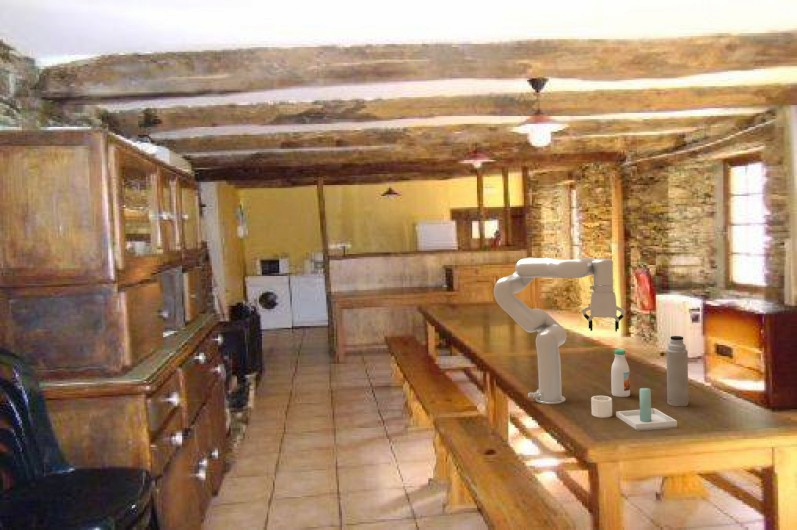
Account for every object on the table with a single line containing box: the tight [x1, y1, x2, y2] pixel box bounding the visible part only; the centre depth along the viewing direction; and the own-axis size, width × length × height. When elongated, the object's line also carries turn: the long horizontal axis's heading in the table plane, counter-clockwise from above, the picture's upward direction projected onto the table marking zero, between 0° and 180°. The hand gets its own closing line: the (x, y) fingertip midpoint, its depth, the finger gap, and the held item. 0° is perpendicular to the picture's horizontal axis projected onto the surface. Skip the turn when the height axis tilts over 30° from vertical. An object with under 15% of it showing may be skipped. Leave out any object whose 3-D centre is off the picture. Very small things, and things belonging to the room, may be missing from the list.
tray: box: [615, 408, 678, 432], centre depth 244 cm, size 16×16×2 cm
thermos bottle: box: [666, 335, 689, 407], centre depth 264 cm, size 8×8×28 cm
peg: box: [639, 387, 652, 422], centre depth 243 cm, size 4×4×12 cm
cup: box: [590, 395, 613, 418], centre depth 254 cm, size 8×8×7 cm
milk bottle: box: [610, 348, 631, 398], centre depth 281 cm, size 8×8×20 cm
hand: (603, 330), depth 262 cm, fingers open, 9 cm apart
